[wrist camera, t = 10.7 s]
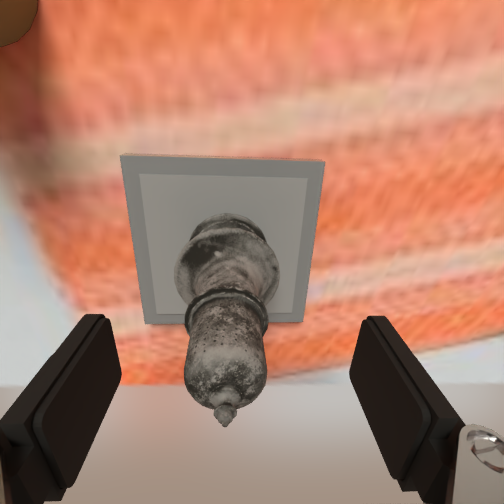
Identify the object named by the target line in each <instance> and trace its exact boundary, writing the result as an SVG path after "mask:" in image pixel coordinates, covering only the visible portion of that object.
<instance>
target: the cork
mask: <svg viewBox="0 0 504 504" xmlns="http://www.w3.org/2000/svg"><path fill="white" fill-rule="evenodd" d="M37 4H38V0H0V47H2V46H5V45H8V44H11V43H14V42H17V41H18V40H19V39H20V38H21V37H22V36H23V35H24V34H25V33H26V32H27V31H28V30H29V29H30V27H31V25H32V22H33V20H34V17H35V15H36V12H37Z"/></svg>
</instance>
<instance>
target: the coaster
mask: <svg viewBox="0 0 504 504" xmlns="http://www.w3.org/2000/svg"><path fill="white" fill-rule="evenodd" d="M120 161H121V167H122V174H123V181H124V187H125V194H126V201H127V207H128V214H129V221H130V227H131V234H132V241H133V247H134V254H135V261H136V267H137V274H138V281H139V288H140V294H141V301H142V308H143V314H144V321H145V324H185V313H186V310H187V307H188V305H187V304H186V303H185V302H184V301H183V299H182V298H181V296H180V295H179V293H178V291H177V288H176V285H175V282H174V267H175V264H176V261H177V258H178V255H179V253H180V252H181V251H182V249H183V248H184V246H185V245H186V244H187V243H188V242H189V240H190V237H191V234H192V233H193V231H194V230H195V228H196V227H197V226H198V225H199V224H200V223H201V222H203V221H204V220H205V219H207V218H209V217H212V216H214V215H217V214H224V213H231V214H238V215H241V216H244V217H247V218H248V219H250V220H251V221H253V222H254V223H256V225H257V226H258V227H259V228H260V229H261V230H262V232H263V234H264V236H265V239H266V241H267V244H268V245H269V246H270V248H271V249H272V250H273V251H274V253H275V256H276V258H277V260H278V262H279V269H280V279H279V285H278V288H277V290H276V292H275V294H274V296H273V298H272V299H271V300H270V301H269V302H268V304H267V305H266V306H265V307H266V309H267V313H268V319H269V321H268V322H303V318H304V310H305V303H306V296H307V289H308V282H309V275H310V267H311V260H312V253H313V246H314V239H315V232H316V225H317V217H318V210H319V203H320V196H321V189H322V182H323V174H324V167H325V161H322V160H315V159H283V158H252V157H220V156H189V155H157V154H122V155H120Z"/></svg>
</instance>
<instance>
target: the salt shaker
mask: <svg viewBox="0 0 504 504" xmlns="http://www.w3.org/2000/svg"><path fill="white" fill-rule="evenodd" d="M279 279H280V269H279V262H278V260H277V258H276V256H275V253H274V251H273V250H272V249H271V248H270V246H269V245H268V244H267V241H266V239H265V236H264V234H263V232H262V230H261V229H260V228H259V227H258V226H257V225H256V223H254V222H253V221H251V220H250V219H248V218H247V217H244V216H241V215H238V214H231V213H224V214H217V215H214V216H212V217H209V218H207V219H205V220H204V221H203V222H201V223H200V224H199V225H198V226H197V227H196V228H195V230H194V231H193V233H192V234H191V237H190V240H189V242H188V243H187V244H186V245H185V246H184V248H183V249H182V251H181V252H180V253H179V255H178V258H177V261H176V264H175V267H174V282H175V285H176V288H177V291H178V293H179V295H180V296H181V298H182V299H183V301H184V302H185V303H186V304H187V305H188V307H187V310H186V313H185V324H184V325H185V328H186V331H187V333H188V335H189V336H190V340H189V345H188V350H187V356H186V361H185V366H184V381H185V385H186V388H187V390H188V392H189V393H190V394H191V395H192V397H193V398H194V399H195V400H196V401H197V402H198V403H200V404H201V405H202V406H205V407H207V408H210V409H214V416H215V418H216V419H218V421H219V423H221V424H222V426H223V427H227V426H228V424H229V423H230V422H232V419H233V418H234V417H235V416H236V414H237V411H236V409H239V408H241V407H244V406H246V405H248V404H250V403H252V402H253V401H254V400H255V399H256V398H257V397H258V395H259V394H260V393H261V392H262V390H263V388H264V386H265V383H266V378H267V365H266V358H265V352H264V345H263V338H262V337H263V336H264V334H265V332H266V330H267V327H268V321H269V319H268V313H267V309H266V307H265V306H266V305H267V304H268V302H269V301H270V300H271V299H272V298H273V296H274V294H275V292H276V290H277V288H278V285H279Z"/></svg>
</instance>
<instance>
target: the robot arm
mask: <svg viewBox="0 0 504 504" xmlns="http://www.w3.org/2000/svg"><path fill="white" fill-rule="evenodd" d="M121 375H122V372H121V367H120V362H119V358H118V353H117V349H116V344H115V340H114V335H113V331H112V326H111V322H110V319H108V318H105V316H104V315H103V314H86V315H84V316H83V317H82V319H81V320H80V321H79V322H78V324H77V325H76V326H75V327H74V329H73V330H72V331H71V333H70V334H69V335H68V336H67V338H66V339H65V340H64V342H63V343H62V344H61V345H60V347H59V348H58V349H57V351H56V352H55V353H54V354H53V355H52V356H51V357H50V358H49V359H48V360H47V361H46V363H45V364H44V365H43V366H42V368H41V369H40V370H39V372H38V373H37V374H36V375H35V377H34V378H33V379H32V380H31V382H30V383H29V384H28V385H27V387H26V388H25V389H24V391H23V392H22V393H21V394H20V396H19V397H18V398H17V399H16V401H15V402H14V403H13V405H12V406H11V407H10V408H9V410H8V411H7V412H6V414H5V415H4V416H3V417H2V419H1V420H0V504H43V503H44V501H61V500H62V498H63V495H64V493H65V491H66V489H67V488H70V487H71V486H73V484H74V483H75V481H76V479H77V476H78V474H79V472H80V470H81V468H82V465H83V463H84V461H85V459H86V456H87V454H88V452H89V450H90V448H91V445H92V443H93V441H94V438H95V436H96V434H97V432H98V430H99V427H100V425H101V423H102V421H103V419H104V416H105V414H106V412H107V410H108V408H109V405H110V403H111V401H112V399H113V396H114V394H115V392H116V390H117V388H118V385H119V383H120V380H121ZM349 375H350V380H351V383H352V385H353V387H354V390H355V392H356V394H357V397H358V399H359V402H360V404H361V406H362V409H363V411H364V413H365V416H366V418H367V420H368V423H369V425H370V428H371V430H372V432H373V435H374V437H375V440H376V442H377V444H378V447H379V449H380V452H381V454H382V456H383V459H384V461H385V463H386V466H387V468H388V471H389V473H390V475H391V476H392V478H393V479H397V481H398V483H399V485H400V487H401V490H402V491H403V492H405V491H418V493H419V495H420V497H421V500H422V501H423V504H504V437H503V436H502V435H500V434H498V433H497V432H495V431H493V430H491V429H489V428H486V427H484V426H480V425H475V424H471V425H465V424H464V422H463V421H462V420H461V418H460V417H459V415H458V414H457V413H456V411H455V410H454V408H453V407H452V406H451V404H450V403H449V402H448V401H447V399H446V398H445V396H444V395H443V394H442V392H441V391H440V389H439V388H438V387H437V385H436V384H435V383H434V381H433V380H432V378H431V377H430V376H429V374H428V373H427V372H426V370H425V369H424V368H423V366H422V365H421V363H420V362H419V361H418V359H417V358H416V357H415V356H414V355H413V353H412V352H411V350H410V349H409V348H408V346H407V345H406V344H405V342H404V341H403V339H402V338H401V337H400V335H399V334H398V333H397V331H396V330H395V328H394V327H393V326H392V324H391V323H390V322H389V320H388V319H387V318H386V317H385V316H368V317H367V319H366V320H363V321H362V324H361V328H360V332H359V336H358V340H357V344H356V347H355V351H354V355H353V359H352V363H351V367H350V371H349Z"/></svg>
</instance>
